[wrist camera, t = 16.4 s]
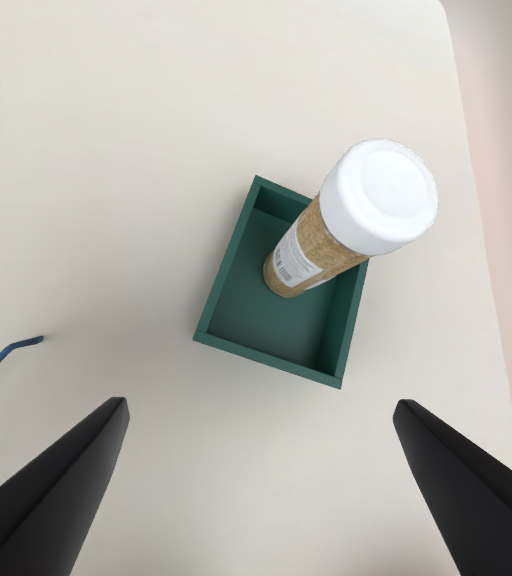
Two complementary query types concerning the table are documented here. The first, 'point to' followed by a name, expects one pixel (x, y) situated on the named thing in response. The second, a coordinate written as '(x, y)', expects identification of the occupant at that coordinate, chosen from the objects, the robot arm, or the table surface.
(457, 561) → the robot arm
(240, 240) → the tray
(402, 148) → the sprinkles bottle
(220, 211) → the table surface
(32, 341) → the sunglasses
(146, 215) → the table surface
